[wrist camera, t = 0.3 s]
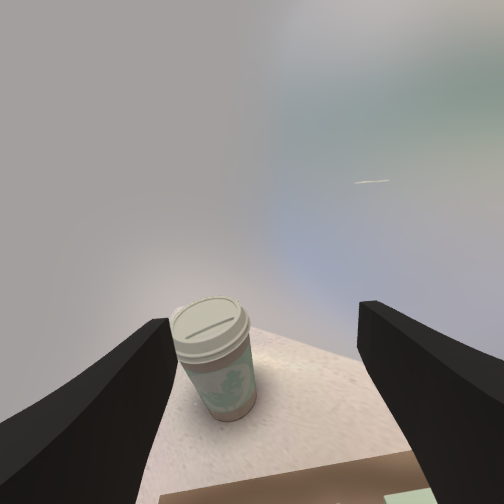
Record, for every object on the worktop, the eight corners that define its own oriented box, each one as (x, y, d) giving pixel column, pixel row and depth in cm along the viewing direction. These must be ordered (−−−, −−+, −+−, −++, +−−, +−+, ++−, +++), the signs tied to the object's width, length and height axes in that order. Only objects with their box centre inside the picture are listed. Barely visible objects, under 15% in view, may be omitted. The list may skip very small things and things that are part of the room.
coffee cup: (186, 433, 28) (146, 349, 24) (210, 369, 36) (183, 296, 31) (263, 437, 26) (236, 345, 22) (271, 368, 34) (252, 289, 29)
